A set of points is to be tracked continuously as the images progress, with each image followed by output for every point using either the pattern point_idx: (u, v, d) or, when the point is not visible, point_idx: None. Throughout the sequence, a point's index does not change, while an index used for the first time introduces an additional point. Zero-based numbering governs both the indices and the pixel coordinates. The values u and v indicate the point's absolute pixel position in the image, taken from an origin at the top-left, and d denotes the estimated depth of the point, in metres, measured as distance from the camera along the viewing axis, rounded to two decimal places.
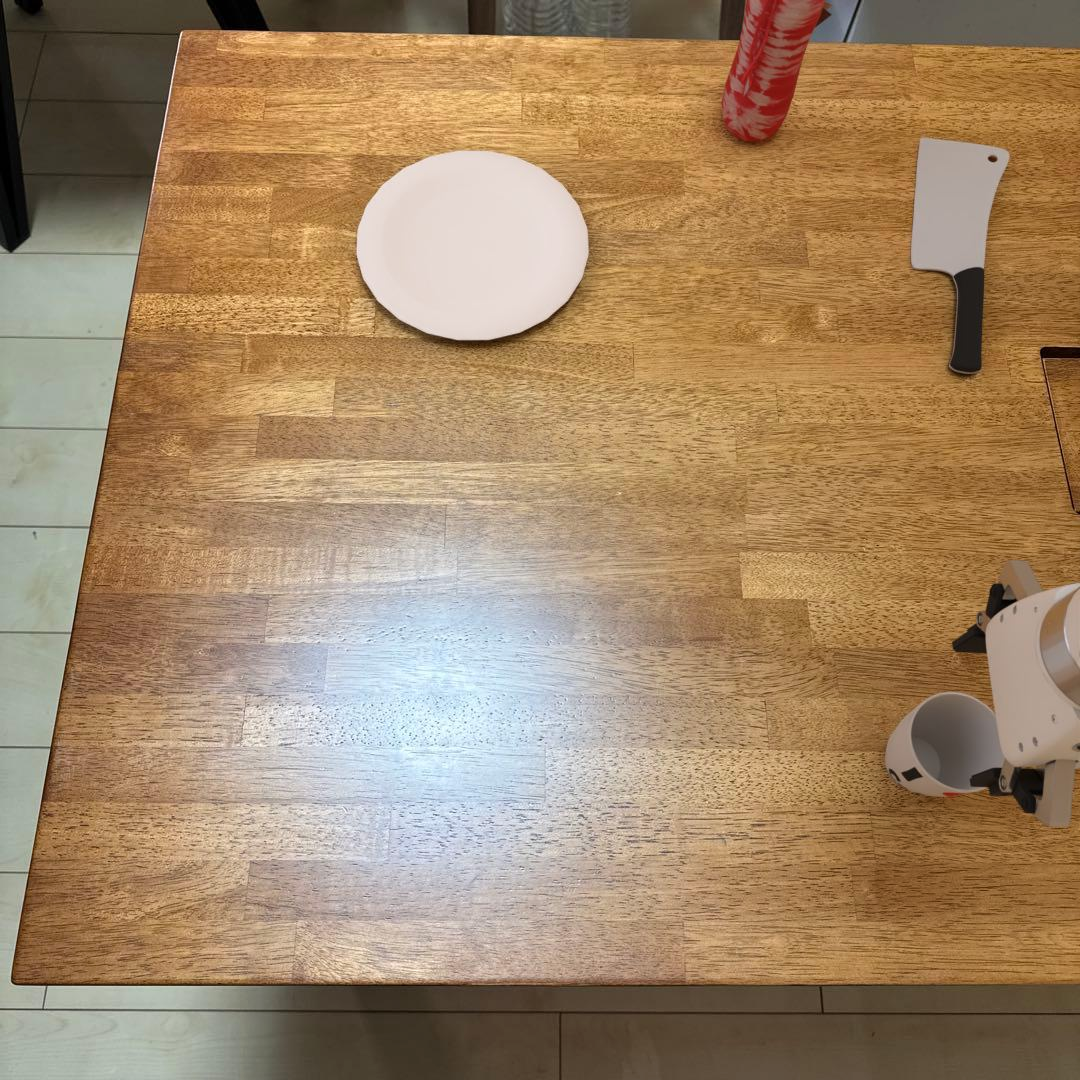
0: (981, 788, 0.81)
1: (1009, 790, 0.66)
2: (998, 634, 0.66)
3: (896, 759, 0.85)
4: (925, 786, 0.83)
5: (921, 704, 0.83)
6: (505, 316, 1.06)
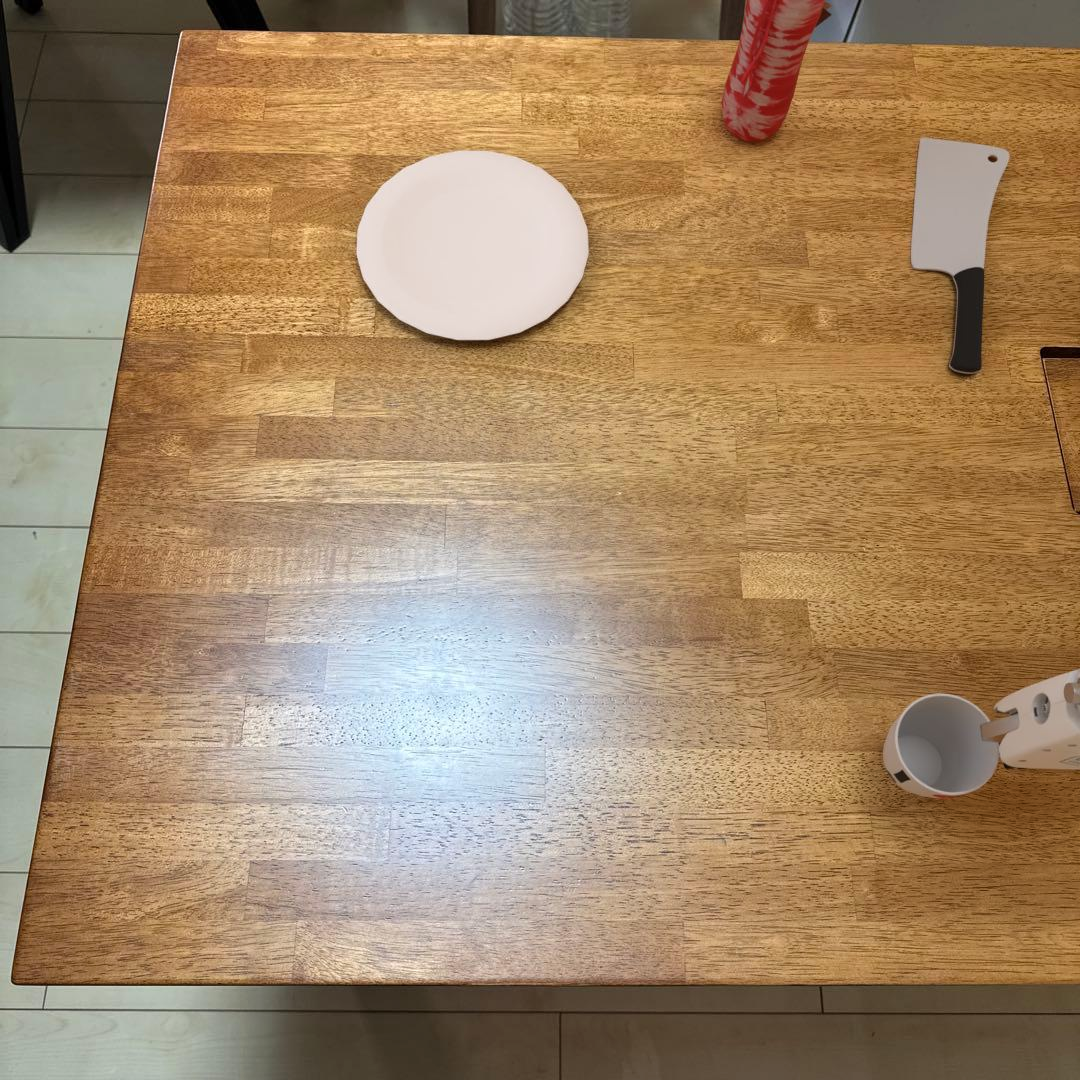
0: (969, 790, 0.80)
1: None
2: None
3: (888, 761, 0.86)
4: (916, 788, 0.83)
5: (909, 706, 0.83)
6: (505, 316, 1.06)
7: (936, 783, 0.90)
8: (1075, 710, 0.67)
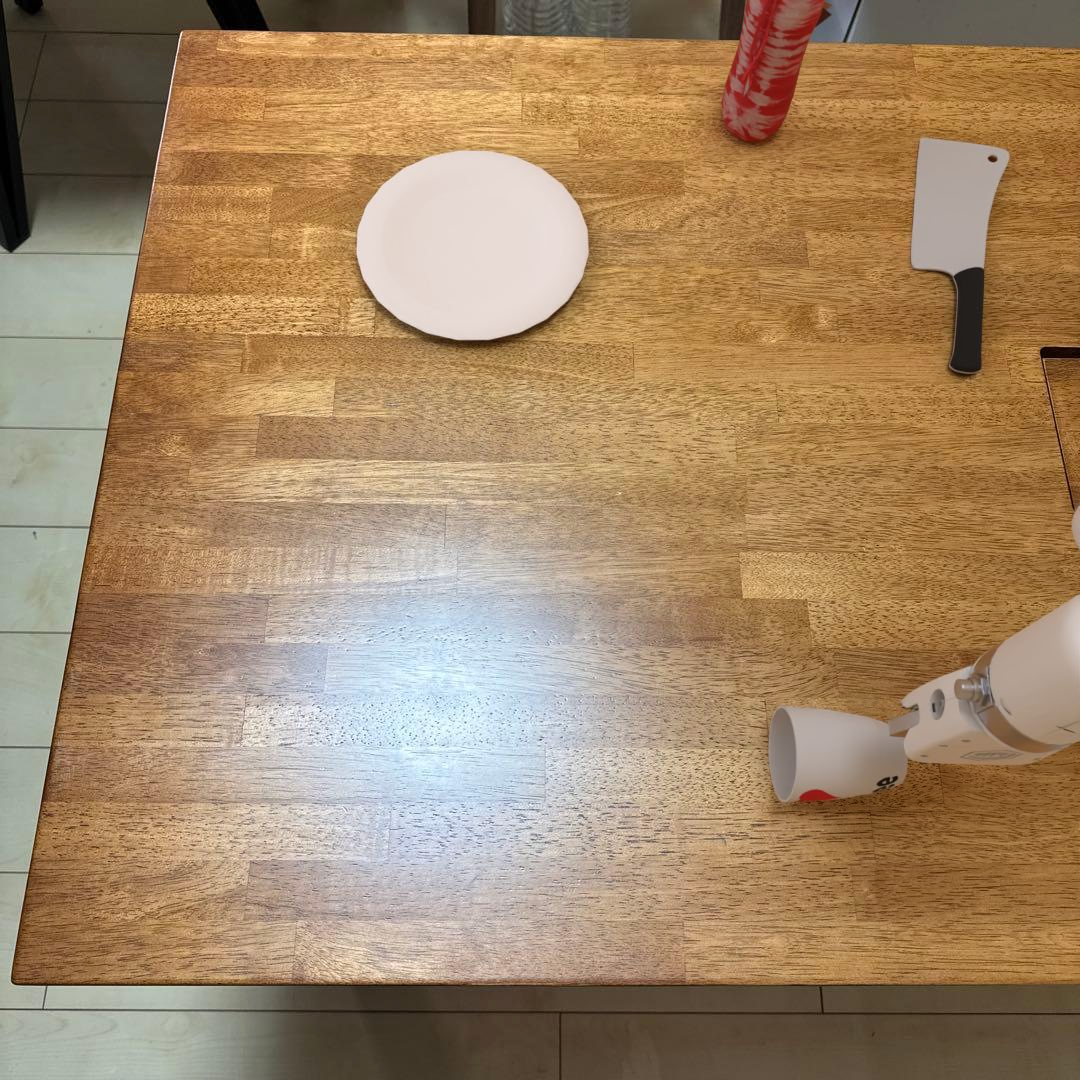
0: (790, 796, 0.85)
1: None
2: None
3: None
4: None
5: (771, 725, 0.91)
6: (505, 316, 1.06)
7: (899, 775, 0.86)
8: (967, 706, 0.68)
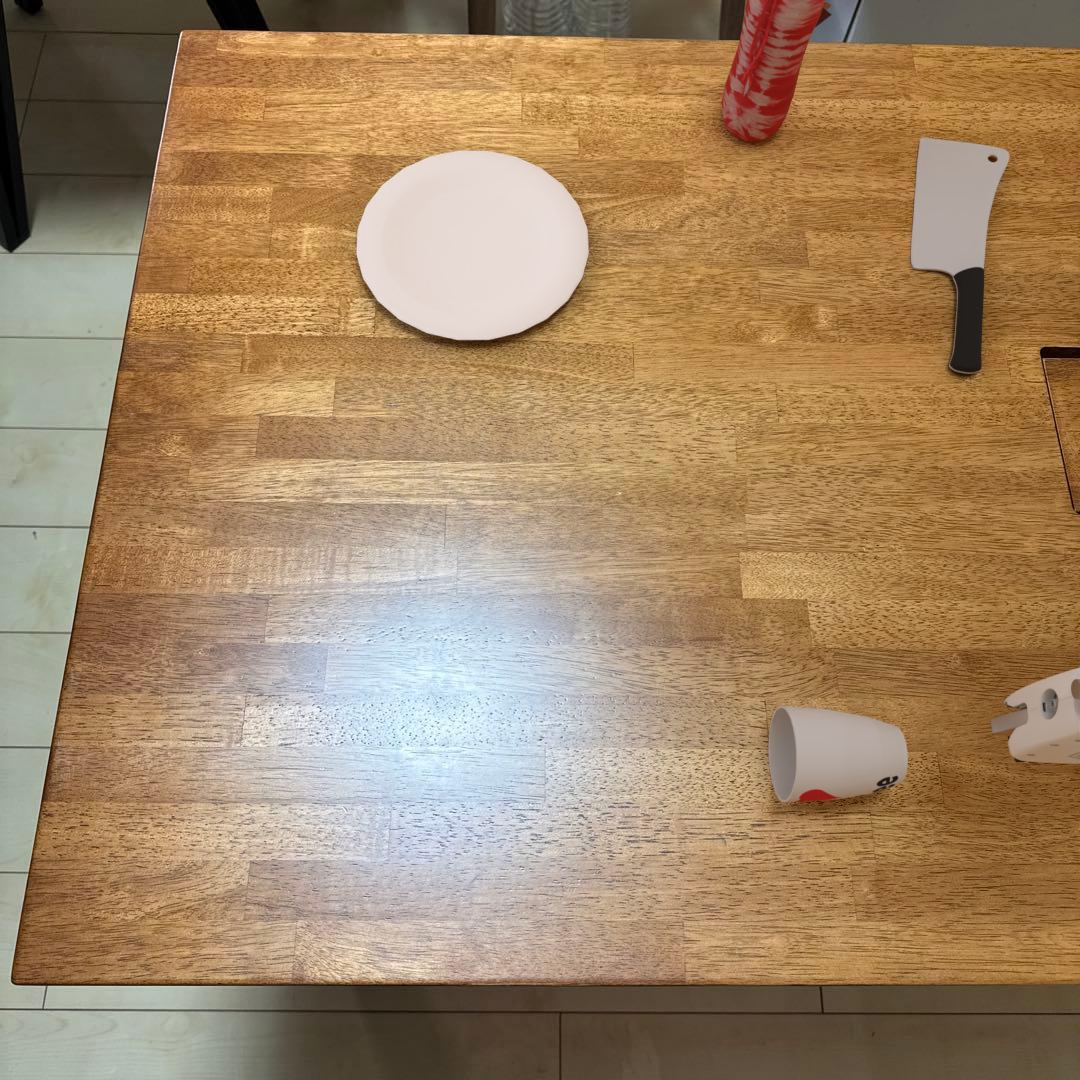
0: (790, 796, 0.85)
1: None
2: None
3: None
4: None
5: (771, 725, 0.91)
6: (505, 316, 1.06)
7: (899, 775, 0.86)
8: None
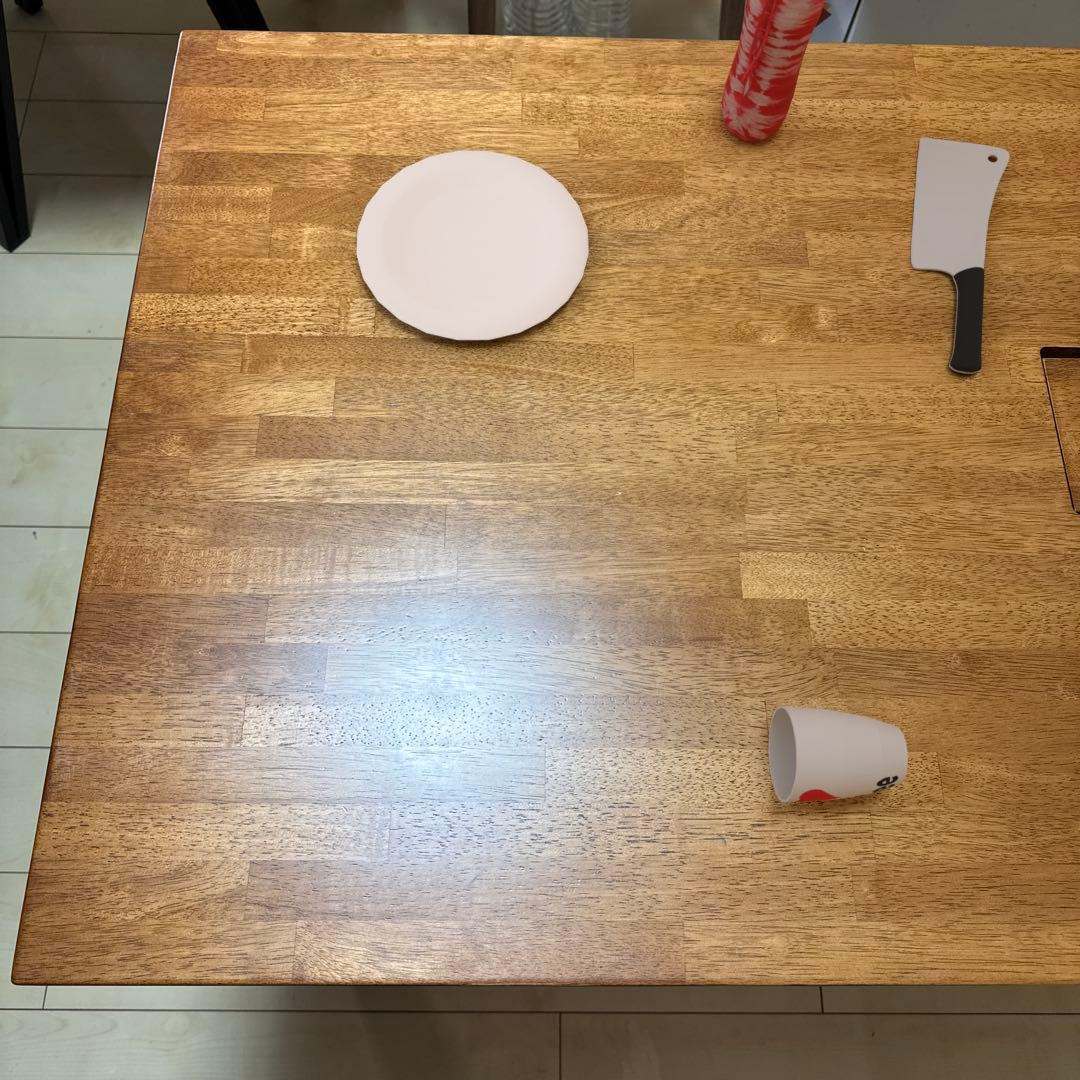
0: (790, 796, 0.85)
1: None
2: None
3: None
4: None
5: (771, 725, 0.91)
6: (505, 316, 1.06)
7: (899, 775, 0.86)
8: None
